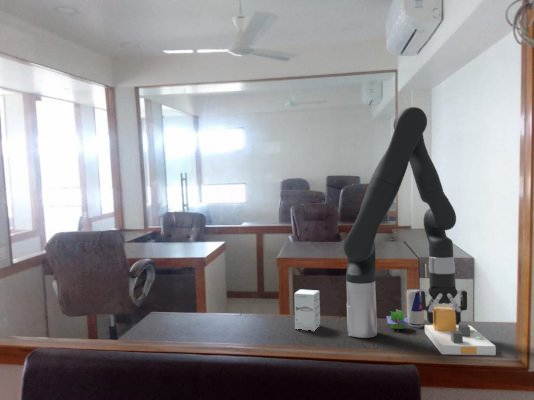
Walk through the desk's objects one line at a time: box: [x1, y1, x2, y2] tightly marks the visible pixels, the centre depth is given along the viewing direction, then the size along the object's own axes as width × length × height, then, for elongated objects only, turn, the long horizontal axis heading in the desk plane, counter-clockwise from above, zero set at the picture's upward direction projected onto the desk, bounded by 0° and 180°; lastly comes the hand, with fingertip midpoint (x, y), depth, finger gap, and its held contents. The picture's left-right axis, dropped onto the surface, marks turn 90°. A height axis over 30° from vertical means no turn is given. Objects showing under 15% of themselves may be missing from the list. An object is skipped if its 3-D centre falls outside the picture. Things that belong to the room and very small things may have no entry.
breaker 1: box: [451, 331, 463, 343], centre depth 113 cm, size 2×2×3 cm
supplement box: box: [293, 288, 321, 332], centre depth 139 cm, size 7×7×13 cm
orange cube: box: [431, 306, 457, 331], centre depth 126 cm, size 6×6×6 cm
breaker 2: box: [458, 324, 470, 336], centre depth 119 cm, size 2×2×3 cm
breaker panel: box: [424, 324, 497, 356], centre depth 119 cm, size 14×19×3 cm
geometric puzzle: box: [386, 308, 409, 332], centre depth 134 cm, size 7×7×8 cm
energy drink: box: [406, 288, 425, 329], centre depth 138 cm, size 5×5×12 cm
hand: (444, 323), depth 126 cm, fingers open, 7 cm apart
